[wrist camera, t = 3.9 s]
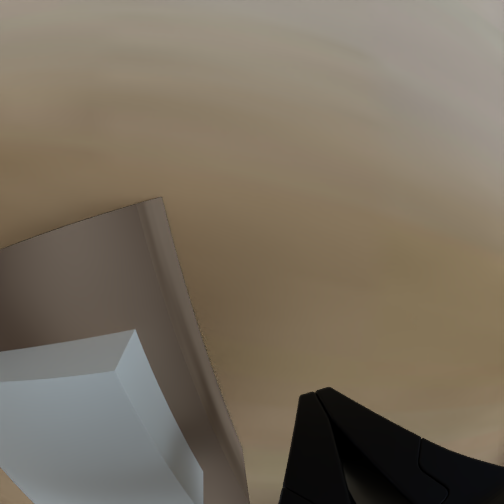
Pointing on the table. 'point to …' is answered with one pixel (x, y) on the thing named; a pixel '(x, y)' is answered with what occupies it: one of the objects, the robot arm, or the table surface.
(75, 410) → the tile
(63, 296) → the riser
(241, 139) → the table surface
